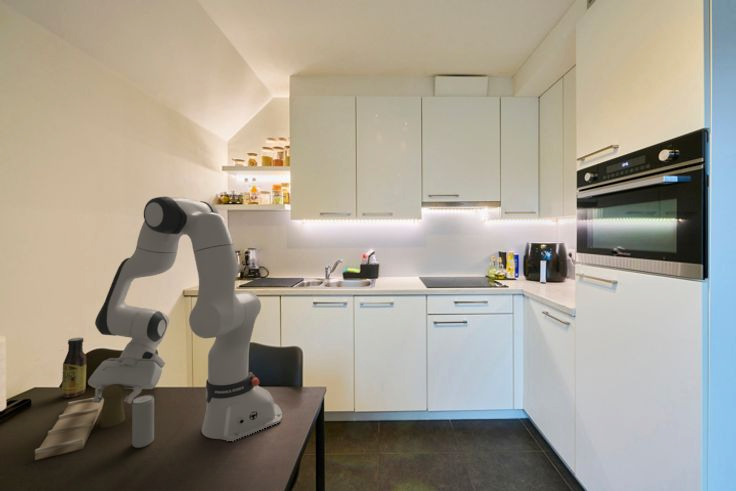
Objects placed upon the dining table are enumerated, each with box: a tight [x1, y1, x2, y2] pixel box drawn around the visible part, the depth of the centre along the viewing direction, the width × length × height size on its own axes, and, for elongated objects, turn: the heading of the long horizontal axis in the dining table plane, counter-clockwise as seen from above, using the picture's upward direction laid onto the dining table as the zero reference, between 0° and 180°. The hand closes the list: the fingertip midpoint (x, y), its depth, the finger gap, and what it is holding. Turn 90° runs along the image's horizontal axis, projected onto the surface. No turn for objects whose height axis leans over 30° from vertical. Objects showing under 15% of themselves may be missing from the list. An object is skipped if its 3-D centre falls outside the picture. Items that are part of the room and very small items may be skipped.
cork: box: [99, 384, 126, 429], centre depth 97 cm, size 6×6×11 cm
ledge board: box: [34, 397, 104, 461], centre depth 94 cm, size 9×28×2 cm, turn 30°
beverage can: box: [131, 394, 155, 449], centre depth 87 cm, size 5×5×12 cm
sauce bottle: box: [61, 337, 87, 399], centre depth 114 cm, size 6×6×20 cm
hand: (111, 402), depth 96 cm, fingers open, 8 cm apart
